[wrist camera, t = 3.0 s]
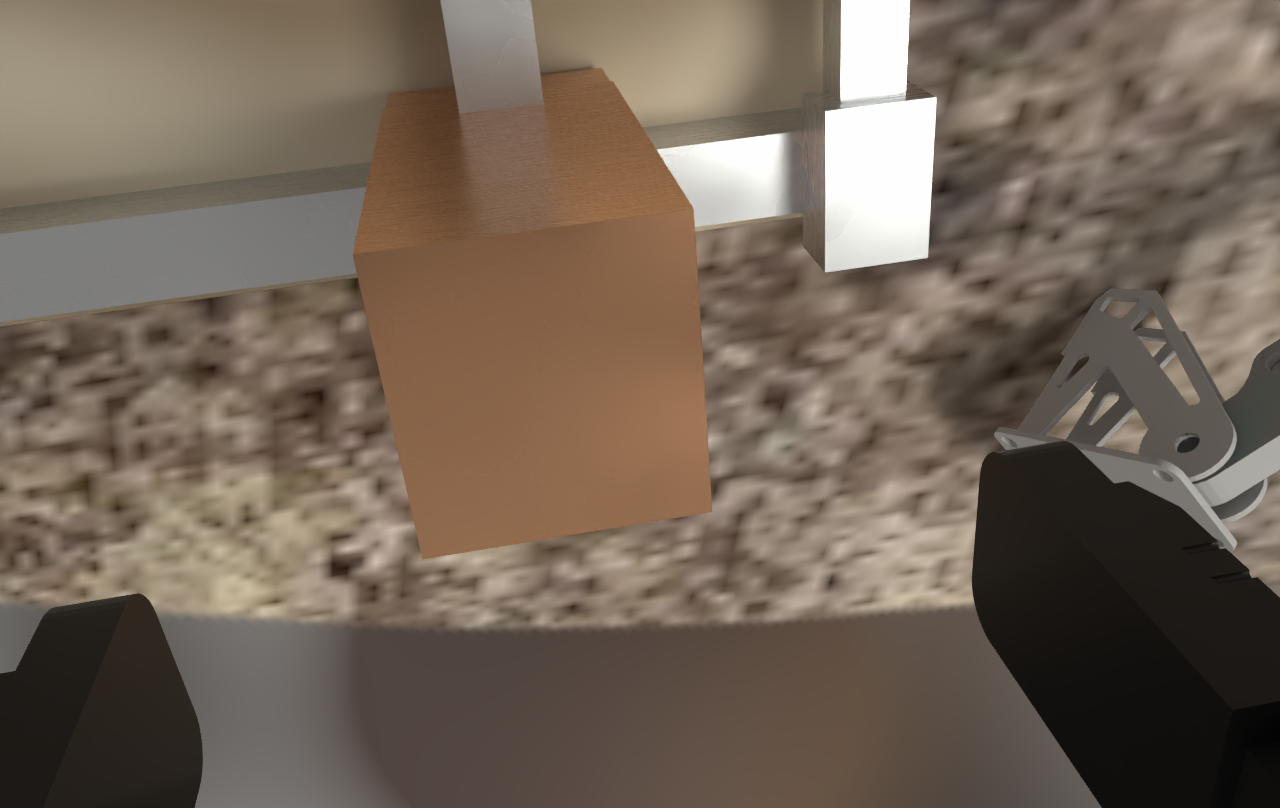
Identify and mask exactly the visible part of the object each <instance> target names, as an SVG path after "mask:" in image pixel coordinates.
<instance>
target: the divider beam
mask: <svg viewBox="0 0 1280 808" xmlns="http://www.w3.org/2000/svg"><path fill="white" fill-rule="evenodd" d="M909 3H910V0H823V90H822V91H814V92H806V93H802V107H801V108H793V109H785V110H777V111H769V112H761V113H754V114H746V115H738V116H730V117H722V118H714V119H706V120H698V121H690V122H682V123H675V124H667V125H659V126H651V127H643V129H644V131H645V132H646V134H647V135H648V137H649V139H650V140H651V142H652V143H653V145H654V147H655V148H656V150H657V151H658V153H659V154H660V156H661V158H662V159H663V161H664V162H665V164H666V166H667V167H668V169H669V170H670V172H671V173H672V175H673V177H674V178H675V180H676V181H677V183H678V185H679V186H680V188H681V189H682V191H683V192H684V194H685V196H686V197H687V199H688V200H689V202H690V203H691V205H692V207H693V208H694V221H695V227H699V226H707V225H714V224H721V223H729V222H736V221H743V220H751V219H758V218H765V217H773V216H780V215H787V214H795V213H802V212H803V246H804V248H805V249H806V250H807V251H808V253H809V254H810V255H811V256H812V257H813V259H814V260H815V261H816V262H817V263H818V265H819V266H820V267H821V268H822V269H823V271H824V272H832V271H839V270H846V269H853V268H860V267H867V266H874V265H881V264H888V263H895V262H902V261H909V260H916V259H923V258H928V244H929V225H930V207H931V188H932V170H933V151H934V133H935V114H936V97H935V96H933V95H932V94H930V93H928V92H926V91H925V90H923V89H921V88H919V87H918V86H916V85H914V84H913V83H911V82H909V81H907V80H906V78H907V53H908V28H909ZM371 163H372V162H366V163H359V164H351V165H343V166H335V167H327V168H319V169H311V170H303V171H295V172H287V173H280V174H272V175H264V176H256V177H248V178H240V179H232V180H224V181H216V182H208V183H201V184H193V185H185V186H177V187H169V188H161V189H153V190H145V191H137V192H129V193H122V194H114V195H106V196H98V197H90V198H82V199H74V200H66V201H58V202H51V203H43V204H35V205H27V206H19V207H11V208H3V209H0V322H4V321H11V320H18V319H26V318H33V317H40V316H48V315H55V314H62V313H70V312H77V311H84V310H92V309H99V308H106V307H113V306H121V305H128V304H135V303H143V302H150V301H157V300H165V299H172V298H179V297H187V296H194V295H201V294H209V293H216V292H223V291H231V290H238V289H245V288H253V287H260V286H267V285H275V284H282V283H289V282H297V281H304V280H311V279H319V278H326V277H333V276H341V275H348V274H355V273H357V272H356V268H355V264H354V259H353V255H352V254H353V250H354V245H355V240H356V235H357V230H358V225H359V221H360V216H361V211H362V206H363V201H364V197H365V192H366V187H367V182H368V177H369V172H370V168H371Z"/></svg>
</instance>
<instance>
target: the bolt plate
mask: <svg viewBox="0 0 1280 808" xmlns="http://www.w3.org/2000/svg"><path fill="white" fill-rule="evenodd" d="M531 6H532V14H533V22H534V30H535V38H536V46H537V54H538V61H539V69H540V75H546V74H555V73H563V72H571V71H580V70H588V69H596V68H602V69H603V71H604V72H605V74H606V75H607V77H608V79H609V80H610V81H613V82H614V83H615V85H616V86H617V88H618V90H619V91H620V93H621V94H622V96H623V98H624V99H625V101H626V102H627V104H628V105H629V107H630V109H631V110H632V112H633V113H634V115H635V117H636V118H637V120H638V121H639V123H640V124H641V126H642V128H643V127H651V126H659V125H667V124H675V123H682V122H690V121H698V120H706V119H714V118H722V117H730V116H738V115H746V114H754V113H761V112H769V111H777V110H785V109H793V108H801V107H802V93H806V92H814V91H822V90H823V0H531ZM447 86H455V85H454V79H453V73H452V67H451V61H450V55H449V49H448V43H447V37H446V31H445V25H444V19H443V13H442V7H441V1H440V0H0V209H3V208H11V207H19V206H27V205H35V204H43V203H51V202H58V201H66V200H74V199H82V198H90V197H98V196H106V195H114V194H122V193H129V192H137V191H145V190H153V189H161V188H169V187H177V186H185V185H193V184H201V183H208V182H216V181H224V180H232V179H240V178H248V177H256V176H264V175H272V174H280V173H287V172H295V171H303V170H311V169H319V168H327V167H335V166H343V165H351V164H359V163H366V162H372V158H373V153H374V148H375V143H376V139H377V134H378V129H379V124H380V119H381V115H382V110H383V109H385V106H386V101H387V96H388V94H389V93H397V92H405V91H414V90H422V89H430V88H439V87H447ZM796 217H803V212H802V213H795V214H787V215H780V216H773V217H765V218H758V219H751V220H743V221H736V222H729V223H721V224H714V225H707V226H699V227H695V231H701V230H709V229H716V228H723V227H731V226H738V225H745V224H752V223H760V222H767V221H774V220H782V219H789V218H796ZM351 278H358V277H357V273H355V274H348V275H341V276H333V277H326V278H319V279H311V280H304V281H297V282H289V283H282V284H275V285H267V286H260V287H253V288H245V289H238V290H231V291H223V292H216V293H209V294H201V295H194V296H187V297H179V298H172V299H165V300H157V301H150V302H143V303H135V304H128V305H121V306H113V307H106V308H99V309H92V310H84V311H77V312H70V313H62V314H55V315H48V316H40V317H33V318H26V319H18V320H11V321H4V322H0V326H8V325H15V324H22V323H29V322H37V321H44V320H51V319H59V318H66V317H73V316H81V315H88V314H95V313H102V312H110V311H117V310H124V309H132V308H139V307H146V306H154V305H161V304H168V303H175V302H183V301H190V300H197V299H205V298H212V297H219V296H227V295H234V294H241V293H249V292H256V291H263V290H270V289H278V288H285V287H292V286H300V285H307V284H314V283H322V282H329V281H336V280H343V279H351Z"/></svg>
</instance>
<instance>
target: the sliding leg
mask: <svg viewBox="0 0 1280 808" xmlns="http://www.w3.org/2000/svg"><path fill="white" fill-rule="evenodd" d="M440 1H441V7H442V13H443V19H444V25H445V31H446V37H447V43H448V49H449V55H450V61H451V67H452V73H453V79H454V85H455V86H447V87H439V88H430V89H422V90H414V91H405V92H397V93H389V94H388V96H387V101H386V106H385V109H383V110H382V115H381V119H380V124H379V129H378V134H377V139H376V143H375V148H374V153H373V158H372V163H371V168H370V172H369V177H368V182H367V187H366V192H365V197H364V201H363V206H362V211H361V216H360V221H359V225H358V230H357V235H356V240H355V245H354V250H353V254H352V255H353V259H354V264H355V268H356V272H357V277H358V281H359V285H360V290H361V294H362V298H363V303H364V307H365V311H366V316H367V320H368V324H369V329H370V333H371V337H372V342H373V346H374V350H375V355H376V359H377V363H378V368H379V372H380V376H381V381H382V385H383V389H384V394H385V398H386V402H387V407H388V411H389V415H390V420H391V424H392V428H393V433H394V437H395V441H396V446H397V450H398V454H399V459H400V463H401V467H402V472H403V476H404V480H405V485H406V489H407V493H408V498H409V502H410V506H411V511H412V515H413V519H414V524H415V528H416V532H417V537H418V541H419V545H420V550H421V554H422V558H423V559H426V558H433V557H439V556H445V555H451V554H457V553H463V552H469V551H475V550H481V549H488V548H494V547H500V546H506V545H512V544H518V543H524V542H530V541H537V540H543V539H549V538H555V537H561V536H567V535H573V534H579V533H585V532H592V531H598V530H604V529H610V528H616V527H622V526H628V525H634V524H641V523H647V522H653V521H659V520H665V519H671V518H677V517H683V516H690V515H696V514H702V513H708V512H712V502H711V485H710V469H709V452H708V436H707V419H706V403H705V386H704V370H703V353H702V337H701V320H700V304H699V287H698V271H697V254H696V238H695V221H694V208H693V207H692V205H691V203H690V202H689V200H688V199H687V197H686V196H685V194H684V192H683V191H682V189H681V188H680V186H679V185H678V183H677V181H676V180H675V178H674V177H673V175H672V173H671V172H670V170H669V169H668V167H667V166H666V164H665V162H664V161H663V159H662V158H661V156H660V154H659V153H658V151H657V150H656V148H655V147H654V145H653V143H652V142H651V140H650V139H649V137H648V135H647V134H646V132H645V131H644V129H643V128H642V126H641V124H640V123H639V121H638V120H637V118H636V117H635V115H634V113H633V112H632V110H631V109H630V107H629V105H628V104H627V102H626V101H625V99H624V98H623V96H622V94H621V93H620V91H619V90H618V88H617V86H616V85H615V83H614V82H613V81H610V80H609V79H608V77H607V75H606V74H605V72H604V71H603V69H602V68H596V69H588V70H580V71H571V72H563V73H555V74H546V75H540V69H539V61H538V54H537V46H536V38H535V30H534V22H533V14H532V6H531V0H440Z"/></svg>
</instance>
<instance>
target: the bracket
mask: <svg viewBox="0 0 1280 808" xmlns="http://www.w3.org/2000/svg"><path fill="white" fill-rule="evenodd" d="M1111 301H1126V302H1138V303H1137V304H1136V305H1135V306H1134V307H1133V308H1132V309H1131V311H1130V312H1129V313H1128V314H1127V315H1126V316H1125V317H1124V318H1123V319H1118V318H1116V317H1113V316H1111V315H1109V314H1107V313H1105V312H1103V311H1104V310H1105V308H1106V307H1107V305H1108V304H1109V303H1110V302H1111ZM1152 311H1153V312H1154V313H1155V315H1156V317H1157V319H1158V320H1159V322H1160V324H1161V326H1162V328H1163V330H1161V329H1150V328H1138V329H1136V330H1135V331H1133V329H1134V328H1135V327H1136V325H1137V324H1138V323H1139V322H1140V321H1141V320H1142V319H1143V318H1144V317H1145V316H1146V315H1147V314H1148V313H1149V312H1152ZM1141 340H1148V341H1159V342H1167V343H1166V344H1165V345H1164V346H1163V347H1162V348H1161V349H1160V351H1159V352H1158V353H1157V354H1156V355H1155V356H1154V357H1152V355H1151V354H1150V352H1149V351H1148V350H1147V348H1146V347H1145V346H1144V344H1143V343H1142V342H1141ZM1061 354H1062V355H1063V356H1064V358H1063V360H1062V361H1061V363H1060V365H1059V366H1058V368H1057V369H1056V371H1055V372H1054V374H1053V375H1052V377H1051V378H1050V380H1049V382H1048V383H1047V385H1046V386H1045V388H1044V389H1043V391H1042V392H1041V394H1040V395H1039V397H1038V399H1037V400H1036V402H1035V403H1034V405H1033V406H1032V408H1031V409H1030V411H1029V413H1028V414H1027V416H1026V417H1025V419H1024V420H1023V422H1022V423H1021V425H1020V426H1019V428H1018V430H1016V429H1011V428H1006V427H998V429H997V430H996V432H995V433H994V436H995V438H996V439H997V440H998V441H999V442H1000V444H1001V445H1002V446H1003V447H1004V448H1005V449H1006V450H1010V449H1016V448H1022V447H1028V446H1034V445H1039V444H1045V443H1051V442H1057V441H1068V442H1070V443H1072V444H1073V445H1075V446H1076V447H1077V448H1078V449H1079V450H1080V451H1081V452H1082V453H1083V454H1084V455H1085V456H1086V457H1087V458H1088V459H1089V460H1090V461H1092V462H1093V463H1094V464H1095V465H1096V466H1097V467H1098V468H1099V469H1100V470H1101V471H1102V472H1103V473H1104V474H1105V475H1106V476H1107V477H1108V478H1109V479H1110V480H1111V481H1112V482H1113V483H1120V482H1126V481H1129V482H1131V483H1133V484H1135V485H1138V486H1140V487H1142V488H1144V489H1146V490H1148V491H1150V492H1152V493H1154V494H1156V495H1158V496H1160V497H1162V498H1164V499H1166V500H1168V501H1170V502H1172V503H1174V504H1176V505H1178V506H1180V507H1181V508H1182V509H1183V510H1184V511H1186V512H1187V513H1188V514H1189V515H1190V516H1191V517H1192V518H1193V519H1194V520H1195V521H1196V522H1198V523H1199V524H1200V525H1201V526H1202V527H1203V528H1204V529H1205V530H1206V531H1207V532H1208V533H1210V534H1211V535H1212V536H1213V537H1214V538H1215V539H1216V540H1217V541H1218V546H1219V548H1220V549H1224V548H1226V549H1227V550H1228V551H1229V552H1232V551H1233V550H1234V548H1235V547H1236V545H1237V541H1236V540H1235V538H1234V537H1233V536H1232V534H1231V533H1230V532H1229V531H1228V529H1227V528H1226V527H1225V525H1224V524H1225V523H1229V522H1232V521H1235V520H1238V519H1240V518H1241V517H1243V516H1245V515H1247V514H1248V513H1249V512H1251V511H1252V510H1253V509H1254V508H1255V507H1256V506H1257V505H1258V504H1259V503H1260V501H1261V500H1262V498H1263V497H1264V495H1265V492H1266V489H1267V477H1268V476H1270V475H1272V474H1273V473H1275V472H1277V471H1278V470H1280V339H1279V340H1278V341H1276V342H1274V343H1273V344H1271V345H1270V346H1268V347H1266V348H1265V349H1263V350H1262V351H1261V352H1260V353H1259V354H1258V355H1257V356H1256V358H1255V359H1254V361H1253V364H1252V367H1251V371H1250V374H1249V377H1248V378H1247V380H1246V382H1245V384H1244V386H1243V387H1242V388H1241V389H1240V391H1239V392H1238V393H1237V394H1236V395H1234V396H1233V397H1231V398H1230V399H1228V400H1227V401H1225V400H1224V398H1223V396H1222V395H1221V393H1220V391H1219V389H1218V388H1217V386H1216V384H1215V382H1214V381H1213V379H1212V377H1211V375H1210V374H1209V372H1208V370H1207V368H1206V367H1205V365H1204V363H1203V361H1202V360H1201V358H1200V356H1199V354H1198V352H1197V351H1196V349H1195V347H1194V345H1193V344H1192V342H1191V340H1190V338H1189V337H1188V335H1187V334H1186V332H1184V331H1180V330H1179V328H1178V327H1177V325H1176V323H1175V321H1174V319H1173V318H1172V316H1171V314H1170V312H1169V311H1168V309H1167V307H1166V305H1165V303H1164V302H1163V300H1162V298H1161V296H1160V295H1159V293H1158V292H1157V291H1155V290H1136V289H1116V288H1110V289H1109V290H1107V291H1106V292H1105V293H1104V294H1103V295H1101V296H1100V297H1099V298H1098V299H1096V300H1095V302H1094V303H1093V305H1092V306H1091V308H1090V310H1089V311H1088V313H1087V314H1086V316H1085V317H1084V319H1083V320H1082V322H1081V323H1080V325H1079V327H1078V328H1077V330H1076V331H1075V333H1074V334H1073V336H1072V337H1071V339H1070V340H1069V342H1068V344H1067V345H1066V347H1065V348H1064V350H1063V351H1062V353H1061ZM1176 354H1177V356H1178V358H1179V360H1180V362H1181V364H1182V366H1183V368H1184V370H1185V371H1186V373H1187V375H1188V377H1189V379H1190V381H1191V383H1192V385H1193V386H1194V388H1195V390H1196V392H1197V394H1198V396H1199V398H1200V402H1199V403H1198V404H1197V405H1191V406H1190V405H1188V404H1187V402H1186V401H1185V400H1184V398H1183V397H1182V396H1181V394H1180V393H1179V391H1178V390H1177V389H1176V387H1175V386H1174V385H1173V383H1172V382H1171V381H1170V379H1169V378H1168V377H1167V375H1166V374H1165V373H1164V371H1163V370H1162V369H1163V368H1164V367H1165V365H1166V364H1167V363H1168V362H1169V361H1170V360H1171V359H1172V358H1173V357H1174V356H1175V355H1176ZM1084 357H1089V361H1088V362H1087V363H1086V364H1085V365H1084V366H1083V367H1082V368H1081V369H1080V370H1079V371H1078V372H1077V373H1076V374H1075V375H1074V376H1073V377H1072V378H1071V379H1070V380H1069V381H1068V382H1067V383H1066V384H1065V385H1064V386H1063V387H1061V386H1062V384H1063V383H1064V381H1065V380H1066V378H1067V376H1068V375H1069V373H1070V372H1071V370H1072V369H1073V367H1074V366H1075V364H1076V362H1077V361H1078V360H1080V359H1082V358H1084ZM1098 379H1099V380H1098ZM1097 380H1098V381H1097ZM1096 381H1097V383H1096V384H1095V386H1094V387H1093V389H1092V391H1091V392H1092V393H1093V394H1094V397H1093V398H1092V400H1091V401H1090V403H1089V404H1088V406H1087V408H1086V409H1085V411H1084V412H1083V414H1082V415H1081V417H1080V419H1079V420H1078V422H1077V423H1076V425H1075V426H1074V428H1073V430H1072V431H1071V433H1070V434H1069V436H1068V437H1067V439H1066V440H1065V439H1060V438H1055V437H1050V436H1046V433H1047V432H1048V431H1049V430H1050V429H1051V428H1052V427H1053V426H1054V425H1055V424H1056V423H1057V422H1058V421H1059V420H1060V419H1061V418H1062V417H1063V416H1064V415H1065V414H1066V413H1067V412H1068V410H1069V409H1070V408H1071V407H1072V406H1073V405H1074V404H1075V403H1076V402H1077V401H1078V400H1079V399H1080V398H1081V397H1082V396H1083V395H1084V394H1085V393H1086V392H1087V391H1088V390H1089V389H1090V388H1091V386H1092V385H1093V384H1094V383H1095V382H1096ZM1060 387H1061V388H1060ZM1112 396H1119V400H1118V401H1117V402H1116V403H1115V404H1114V405H1113V406H1112V407H1111V408H1110V409H1109V410H1108V411H1107V412H1106V413H1105V414H1104V415H1103V416H1102V417H1101V418H1100V419H1099V420H1098V421H1097V422H1095V423H1094V424H1093V425H1092V426H1091V424H1092V423H1093V421H1094V419H1095V418H1096V416H1097V415H1098V413H1099V412H1100V410H1101V408H1102V407H1103V405H1104V404H1105V402H1106V401H1107V400H1108V399H1109V398H1110V397H1112ZM1136 410H1137V411H1138V413H1139V414H1140V416H1141V417H1142V419H1143V421H1144V422H1145V424H1146V425H1147V427H1148V431H1147V433H1146V434H1145V436H1144V438H1143V440H1142V442H1141V445H1140V450H1139V455H1138V454H1134V453H1129V452H1124V451H1119V450H1114V449H1109V448H1104V447H1101V446H1102V445H1103V444H1104V443H1105V442H1106V441H1107V440H1108V439H1109V438H1110V437H1111V436H1112V435H1113V434H1114V433H1115V432H1116V431H1117V430H1118V429H1119V428H1120V427H1121V426H1122V425H1123V424H1124V423H1125V421H1126V420H1127V419H1128V418H1129V417H1130V416H1131V415H1132V414H1133V413H1134V412H1135V411H1136Z"/></svg>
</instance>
